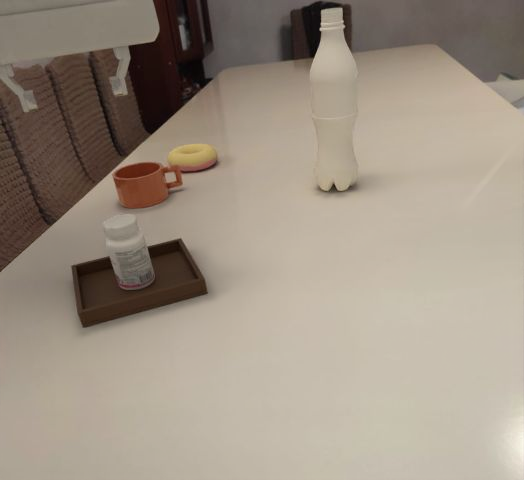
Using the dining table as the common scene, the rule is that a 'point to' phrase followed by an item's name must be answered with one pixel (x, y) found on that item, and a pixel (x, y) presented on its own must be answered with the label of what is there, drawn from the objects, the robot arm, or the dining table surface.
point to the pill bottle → (128, 252)
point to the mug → (144, 183)
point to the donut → (193, 157)
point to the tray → (132, 301)
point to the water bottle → (334, 104)
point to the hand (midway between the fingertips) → (76, 102)
